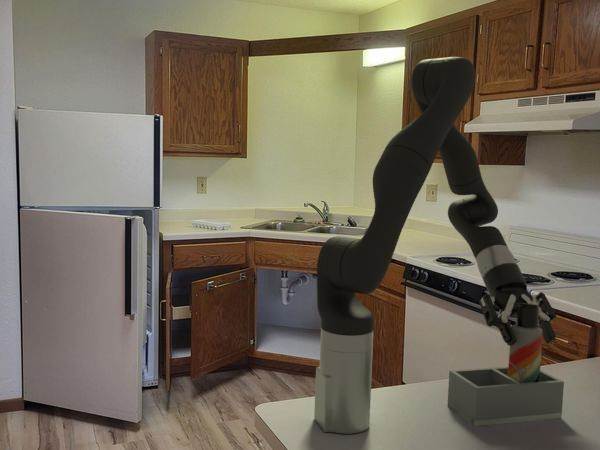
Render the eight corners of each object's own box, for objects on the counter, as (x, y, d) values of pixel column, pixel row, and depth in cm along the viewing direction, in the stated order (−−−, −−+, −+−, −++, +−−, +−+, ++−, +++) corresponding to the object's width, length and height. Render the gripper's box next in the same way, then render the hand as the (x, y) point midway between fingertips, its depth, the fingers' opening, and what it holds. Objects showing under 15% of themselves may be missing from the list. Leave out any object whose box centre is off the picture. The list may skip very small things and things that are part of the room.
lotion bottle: (503, 405, 113) (509, 303, 111) (509, 396, 118) (515, 297, 116) (535, 412, 110) (542, 307, 108) (539, 402, 115) (546, 301, 113)
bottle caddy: (474, 426, 105) (476, 388, 105) (447, 405, 114) (449, 370, 114) (561, 417, 110) (564, 381, 110) (528, 398, 119) (531, 365, 119)
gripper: (477, 261, 116) (508, 334, 106) (539, 261, 120) (575, 331, 110) (461, 283, 122) (490, 354, 112) (521, 282, 126) (553, 350, 116)
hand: (532, 342), depth 111 cm, fingers open, 8 cm apart
